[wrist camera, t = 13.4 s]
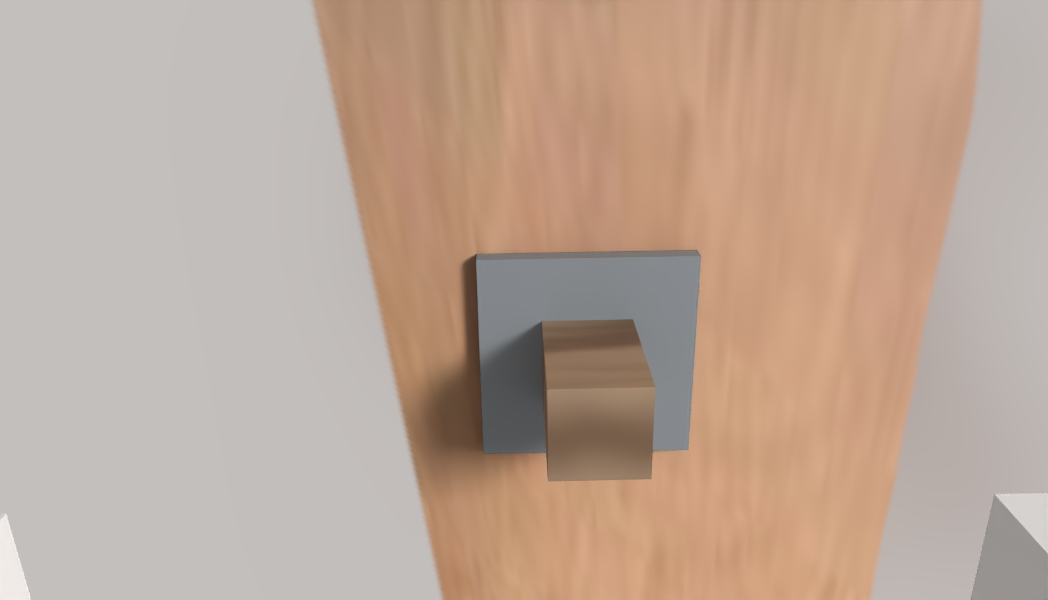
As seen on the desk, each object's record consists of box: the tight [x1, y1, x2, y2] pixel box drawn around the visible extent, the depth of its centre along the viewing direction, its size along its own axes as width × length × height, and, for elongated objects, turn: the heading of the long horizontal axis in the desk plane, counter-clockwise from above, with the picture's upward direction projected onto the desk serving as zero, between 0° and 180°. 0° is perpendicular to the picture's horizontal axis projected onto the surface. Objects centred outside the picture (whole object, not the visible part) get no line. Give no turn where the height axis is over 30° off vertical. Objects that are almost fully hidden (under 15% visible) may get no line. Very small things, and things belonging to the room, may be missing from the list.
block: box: [542, 319, 655, 481], centre depth 44 cm, size 5×5×8 cm
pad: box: [476, 250, 701, 454], centre depth 48 cm, size 12×12×1 cm
